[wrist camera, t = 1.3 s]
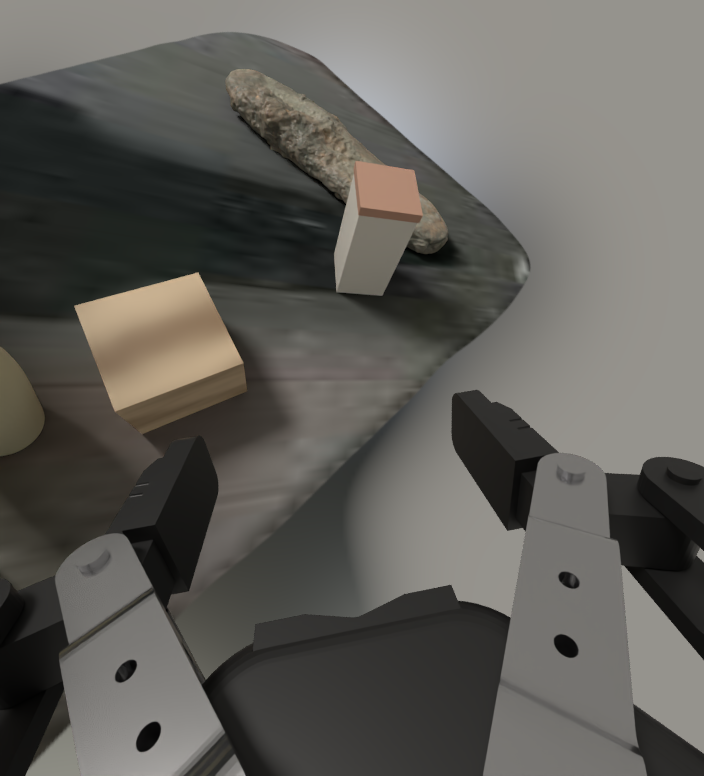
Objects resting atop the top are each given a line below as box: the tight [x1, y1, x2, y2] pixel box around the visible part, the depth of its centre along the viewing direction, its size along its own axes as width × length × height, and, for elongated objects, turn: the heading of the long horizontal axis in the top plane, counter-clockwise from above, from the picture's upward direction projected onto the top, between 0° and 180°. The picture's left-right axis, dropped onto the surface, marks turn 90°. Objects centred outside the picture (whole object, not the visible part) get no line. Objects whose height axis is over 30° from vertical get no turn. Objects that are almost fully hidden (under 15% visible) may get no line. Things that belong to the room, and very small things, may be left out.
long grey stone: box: [225, 69, 448, 254], centre depth 44 cm, size 35×5×10 cm
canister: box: [334, 161, 423, 296], centre depth 35 cm, size 5×5×11 cm
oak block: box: [74, 273, 247, 434], centre depth 29 cm, size 9×9×6 cm
